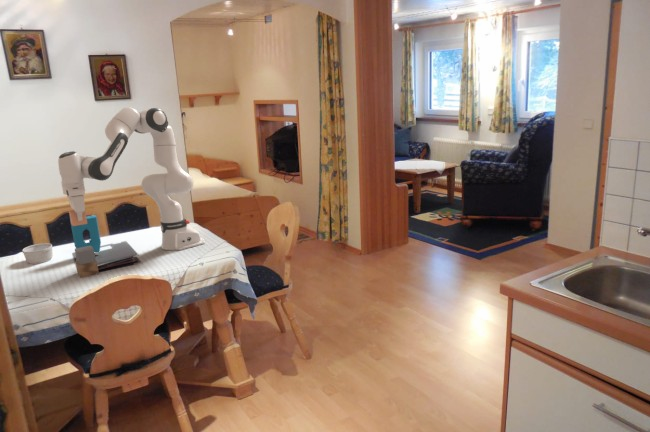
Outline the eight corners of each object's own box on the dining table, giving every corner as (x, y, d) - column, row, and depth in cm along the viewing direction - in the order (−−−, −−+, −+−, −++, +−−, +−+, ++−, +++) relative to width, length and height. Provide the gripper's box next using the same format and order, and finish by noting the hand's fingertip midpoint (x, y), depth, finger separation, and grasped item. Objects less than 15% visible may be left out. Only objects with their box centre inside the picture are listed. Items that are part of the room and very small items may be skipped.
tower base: (95, 269, 243) (93, 257, 241) (99, 273, 236) (96, 261, 235) (77, 273, 239) (75, 260, 237) (80, 278, 232) (77, 265, 230)
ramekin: (30, 266, 250) (27, 253, 248) (21, 261, 259) (18, 248, 257) (58, 259, 259) (56, 246, 258) (48, 254, 268) (46, 241, 266)
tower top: (93, 257, 241) (91, 245, 239) (95, 261, 235) (93, 249, 233) (76, 260, 237) (74, 248, 235) (79, 265, 231) (77, 252, 230)
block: (77, 259, 257) (70, 221, 252) (76, 256, 262) (69, 219, 256) (103, 254, 263) (96, 217, 258) (101, 252, 267) (95, 215, 262)
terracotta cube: (85, 221, 235) (83, 208, 234) (87, 223, 230) (85, 210, 229) (71, 223, 232) (68, 210, 230) (73, 226, 227) (70, 213, 226)
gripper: (62, 186, 234) (68, 215, 238) (69, 193, 217) (74, 224, 221) (77, 184, 237) (82, 213, 241) (85, 191, 221) (90, 222, 224)
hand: (79, 219), depth 231 cm, fingers closed on terracotta cube, 6 cm apart
